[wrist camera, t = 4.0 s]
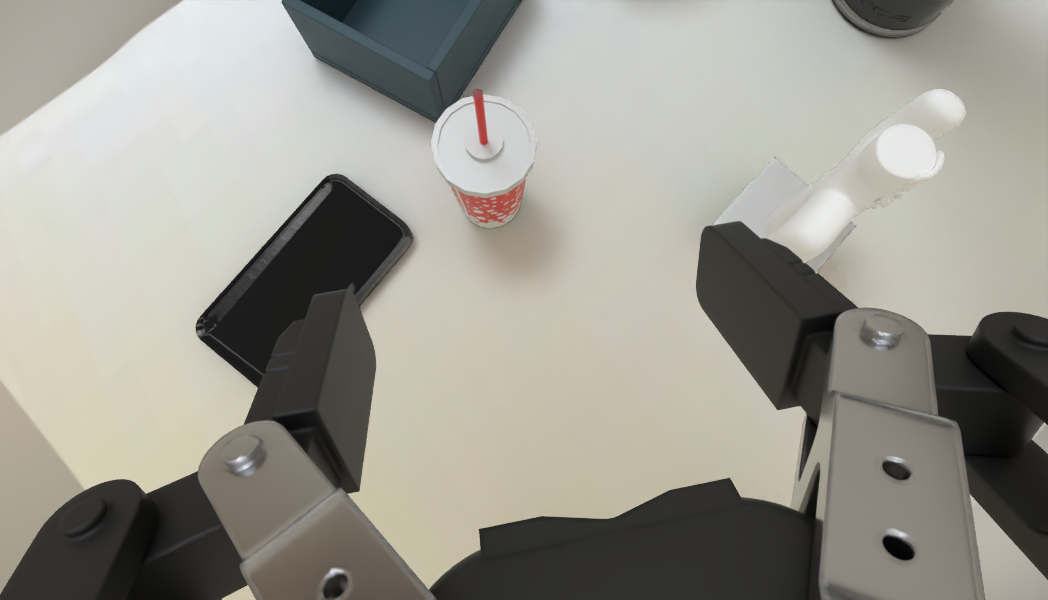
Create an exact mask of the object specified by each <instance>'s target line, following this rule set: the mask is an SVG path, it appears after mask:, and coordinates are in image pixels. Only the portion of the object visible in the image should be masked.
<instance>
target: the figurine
mask: <svg viewBox="0 0 1048 600" xmlns="http://www.w3.org/2000/svg"><path fill="white" fill-rule="evenodd" d="M965 114H966V110H965V106H964V104H963V102H962V101H961V100H960V99H959V98H958V97H957V96H956V95H955V94H953V93H951V92H949V91H947V90H943V89H933V90H929V91H927V92H925V93H923V94H921V95H919V96H918V97H916V98H915V99H914V100H912V101H911V102H909V103H908V104H906V105H905V106H904V107H902V108H901V109H899V110H898V111H896V112H895V113H894V114H892V115H891V116H889V117H888V118H886V119H885V120H883V121H882V122H881V123H879V124H878V125H876V126H875V127H874V128H873V129H872V130H870V131H869V132H868V133H867V134H866V135H865V136H864V137H863V138H862V140H861V141H860V142H859V143H858V144H857V145H856V146H855V148H854V149H853V150H852V151H851V152H850V153H849V154H848V156H847V157H846V158H845V159H844V160H843V161H842V162H841V163H839V164H838V165H837V166H836V167H835V168H833V169H832V170H831V171H830V172H828V173H827V174H826V175H824V176H823V177H822V178H820V179H819V180H818V181H816V182H815V183H813V184H812V185H810V186H809V185H808V184H806V183H805V182H804V181H803V180H802V179H801V178H799V177H798V176H797V175H796V174H795V173H793V172H792V171H791V170H790V169H789V168H788V167H786V166H785V165H784V164H783V163H782V162H780V161H779V160H778V159H777V158H776V157H773V158H772V160H771V161H770V162H769V163H768V164H767V165H766V166H765V167H764V168H763V169H762V171H761V172H760V173H759V174H758V175H757V176H756V177H755V178H754V179H753V180H752V181H751V183H750V184H749V185H748V186H747V187H746V188H745V189H744V190H743V191H742V192H741V193H740V195H739V196H738V197H737V198H736V199H735V200H734V201H733V202H732V203H731V204H730V205H729V207H728V208H727V209H726V210H725V211H724V212H723V213H722V214H721V215H720V216H719V217H718V219H717V220H716V221H715V222H714V223H713V224H712V225H718V224H723V223H729V222H735V221H741V222H743V223H744V224H745V225H746V226H747V227H748V228H750V229H751V230H752V231H753V232H754V233H755V234H756V235H757V236H759V237H760V238H761V239H762V238H767V239H769V240H772V241H774V242H776V243H778V244H781V245H783V246H785V247H787V248H789V249H790V250H791V251H792V252H793V253H795V254H796V255H797V256H798V257H799V258H800V259H802V262H803V263H806V264H807V265H809V266H810V267H811V268H812V269H813V270H814V271H815V273H816V272H817V271H818V270H819V269H820V268H821V266H822V265H823V264H824V263H825V262H826V261H827V259H828V258H829V257H830V256H831V255H832V254H833V252H834V251H835V250H836V249H837V248H838V247H839V245H840V244H841V243H842V242H843V241H844V240H845V238H846V237H847V236H848V235H849V234H850V233H851V232H852V230H853V229H854V228H855V227H856V225H855V224H854V223H853V222H852V221H851V220H852V219H853V218H855V217H856V216H857V215H859V214H860V213H862V212H863V211H865V210H867V209H868V208H870V207H871V208H873V209H874V208H877V207H879V206H881V207H884V206H886V205H888V204H889V203H890V202H892V201H893V200H894V199H895V198H897V199H899V198H901V193H902V192H905V191H907V190H909V189H911V188H913V187H915V186H916V185H918V184H920V183H922V182H924V181H926V180H928V179H930V178H932V177H933V176H935V175H936V174H937V173H938V172H939V171H940V169H941V168H942V165H943V162H944V153H943V152H942V151H939V150H938V151H936V147H935V144H934V142H933V141H934V140H935V139H937V138H939V137H940V136H942V135H944V134H946V133H947V132H949V131H951V130H952V129H954V128H955V127H957V126H958V125H959V124H960V123H961V122H962V121H963V119H964V117H965ZM712 225H711V226H712Z"/></svg>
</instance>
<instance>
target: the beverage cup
mask: <svg viewBox="0 0 1048 600" xmlns="http://www.w3.org/2000/svg"><path fill="white" fill-rule="evenodd" d="M536 146H537V140H536V136H535V132H534V128H533V124H532V122H531V121H530V119H529V118H528V117H527V116H526V114H525V113H524V112H523V110H522V109H521V108H520V107H519V106H517V105H515V104H513V103H512V102H510V101H508V100H507V99H505V98H503V97H498V96H492V95H486V94H483V92H482V90H480V89H476V90H474V92H473V96H471V97H466V98H462V99H461V100H459V101H458V102H456V103H454V104H453V105H451V106H450V107H448V108H447V109H445V111H444V112H443V114H442V115H441V117H440V118H439V119H438V121H437V122H436V124H435V125H434V130H433V135H432V140H431V148H432V153H433V157H434V162H435V165H436V167H437V169H438V171H439V172H440V173H441V175H442V176H443V177H444V179H445V180H446V181H447V183H448V184H449V185H450V186H451V188H452V190H453V192H454V195H455V197H456V199H457V201H458V203H459V205H460V207H461V209H462V211H463V212H464V214H465V215H466V216H467V218H468V219H469V220H470V221H471V222H473V223H475V224H476V225H478V226H480V227H486V228H495V227H500V226H504V225H505V224H506V223H508V222H509V221H511V220H512V219H513V218H514V217H515V215H516V214H517V212H518V211H519V208H520V204H521V199H522V195H523V190H524V185H525V181H526V176H527V175H528V173H529V172H530V170H531V169H532V167H533V163H534V158H535V152H536Z"/></svg>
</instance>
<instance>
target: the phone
mask: <svg viewBox="0 0 1048 600" xmlns="http://www.w3.org/2000/svg"><path fill="white" fill-rule="evenodd" d="M411 242H412V233H411V231H410V229H409V227H408V226H407V225H406V224H405V223H404V221H402V220H401V219H400V218H398V217H397V216H396V215H394V214H393V213H392V212H391V211H389V210H388V209H387V208H385V207H384V206H383V205H381V204H380V203H379V202H378V201H376V200H375V199H374V198H372V197H371V196H370V195H368V194H367V193H366V192H365V191H363V190H362V189H361V188H359V187H358V186H357V185H355V184H354V183H353V182H352V181H350V180H349V179H348V178H346V177H345V176H343V175H340V174H331V175H329V176H327V177H326V178H324V179H323V180H322V181H321V182H320V184H319V185H318V186H317V187H316V188H315V189H314V190H313V191H312V192H311V194H310V195H309V196H308V197H307V198H306V199H305V200H304V201H303V202H302V204H301V205H300V206H299V207H298V208H297V209H296V210H295V211H294V212H293V214H292V215H291V216H290V217H289V218H288V219H287V220H286V221H285V223H284V224H283V225H282V226H281V227H280V228H279V229H278V230H277V231H276V233H275V234H274V235H273V236H272V237H271V238H270V239H269V240H268V241H267V243H266V244H265V245H264V246H263V247H262V248H261V249H260V250H259V251H258V253H257V254H256V255H255V256H254V257H253V258H252V259H251V260H250V262H249V263H248V264H247V265H246V266H245V267H244V268H243V269H242V270H241V272H240V273H239V274H238V275H237V276H236V277H235V278H234V279H233V280H232V282H231V283H230V284H229V285H228V286H227V287H226V288H225V289H224V290H223V292H222V293H221V294H220V295H219V296H218V297H217V298H216V299H215V301H214V302H213V303H212V304H211V305H210V306H209V307H208V308H207V309H206V311H205V312H204V313H203V314H202V315H201V316H200V318H199V319H198V321H197V323H196V333H197V336H198V337H199V338H200V340H201V341H203V342H204V343H205V344H206V345H207V346H209V347H210V348H211V349H212V350H213V351H215V352H216V353H217V354H218V355H219V356H221V357H222V358H223V359H224V360H226V361H227V362H228V363H229V364H230V365H232V366H233V367H234V368H235V369H236V370H238V371H239V372H240V373H241V374H242V375H244V376H245V377H246V378H247V379H248V380H250V381H251V382H252V383H253V384H254V385H256V386H257V387H259V385H260V382H261V380H262V377H263V375H264V374H266V371H265V370H266V367H267V365H268V362H269V360H270V359H272V357H271V354H272V352H273V349H274V347H275V344H276V342H277V339H278V338H279V336H280V335H281V334H282V333H283V332H284V331H285V330H286V329H287V328H288V327H289V326H290V325H291V323H292V322H293V321H297V320H303V319H305V317H306V314H307V311H308V309H309V306H310V303H311V300H312V297H313V296H314V295H315V294H321V293H326V292H332V291H338V290H343V289H350V290H351V291H352V292H353V294H354V296H355V298H356V301H357V303H358V306H360V305H361V304H362V302H363V301H364V300H365V299H366V298H367V296H368V295H369V294H370V293H371V292H372V290H373V289H374V288H375V287H376V286H377V285H378V283H379V282H380V281H381V280H382V279H383V277H384V276H385V275H386V274H387V273H388V272H389V270H390V269H391V268H392V267H393V266H394V264H395V263H396V262H397V261H398V260H399V258H400V257H401V256H402V255H403V254H404V253H405V251H406V250H407V249H408V248H409V246H410V245H411Z"/></svg>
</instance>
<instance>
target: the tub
mask: <svg viewBox="0 0 1048 600" xmlns="http://www.w3.org/2000/svg"><path fill="white" fill-rule="evenodd" d="M521 1H522V0H282V4H283V6H284V7H285V9H286V11H287V12H288V14H289V16H290V17H291V19H292V21H293V22H294V24H295V25H296V27H297V29H298V30H299V32H300V34H301V35H302V37H303V39H304V40H305V42H306V44H307V45H308V47H309V48H310V50H311V52H312V53H313V55H314V57H316V58H318V59H320V60H321V61H323V62H325V63H327V64H329V65H331V66H332V67H334V68H336V69H338V70H340V71H342V72H344V73H345V74H347V75H349V76H351V77H353V78H355V79H356V80H358V81H360V82H362V83H364V84H366V85H367V86H369V87H371V88H373V89H375V90H377V91H379V92H380V93H382V94H384V95H386V96H388V97H390V98H391V99H393V100H395V101H397V102H399V103H401V104H403V105H404V106H406V107H408V108H410V109H412V110H414V111H415V112H417V113H419V114H421V115H423V116H425V117H427V118H428V119H430V120H432V121H434V122H437V121H438V119H439V118H440V117H441V115H442V114H443V112H444V111H445V109H447V108H448V107H450V106H451V105H453V104H454V103H456V102H457V101H458V99H459V97H460V96H461V94H462V93H463V91H464V90H465V88H466V87H467V85H468V83H469V82H470V80H471V79H472V77H473V76H474V74H475V72H476V71H477V69H478V68H479V66H480V65H481V63H482V62H483V60H484V58H485V57H486V55H487V54H488V52H489V51H490V49H491V48H492V46H493V44H494V43H495V41H496V40H497V38H498V37H499V35H500V33H501V32H502V30H503V29H504V27H505V26H506V24H507V23H508V21H509V19H510V18H511V16H512V15H513V13H514V12H515V10H516V8H517V7H518V5H519V4H520V2H521Z"/></svg>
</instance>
